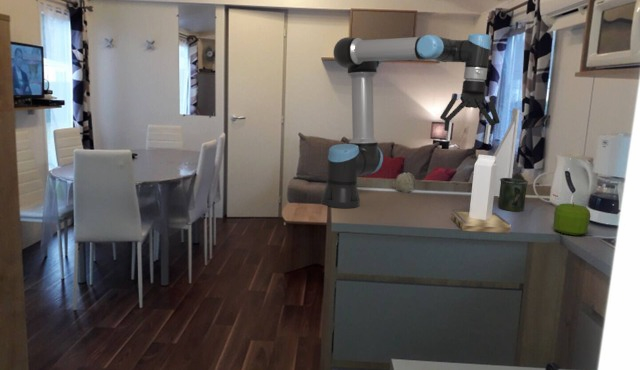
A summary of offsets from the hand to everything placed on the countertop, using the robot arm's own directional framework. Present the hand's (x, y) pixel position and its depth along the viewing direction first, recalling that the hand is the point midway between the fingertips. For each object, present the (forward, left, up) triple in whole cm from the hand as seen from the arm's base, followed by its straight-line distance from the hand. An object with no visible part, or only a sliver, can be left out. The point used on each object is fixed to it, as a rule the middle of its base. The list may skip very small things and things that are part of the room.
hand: (466, 141), depth 186 cm
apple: (+36, -10, -29) cm, 47 cm away
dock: (+6, -6, -29) cm, 30 cm away
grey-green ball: (-12, +52, -29) cm, 61 cm away
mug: (+28, +24, -29) cm, 47 cm away
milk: (+6, -6, -26) cm, 27 cm away
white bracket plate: (+30, +57, -29) cm, 71 cm away
